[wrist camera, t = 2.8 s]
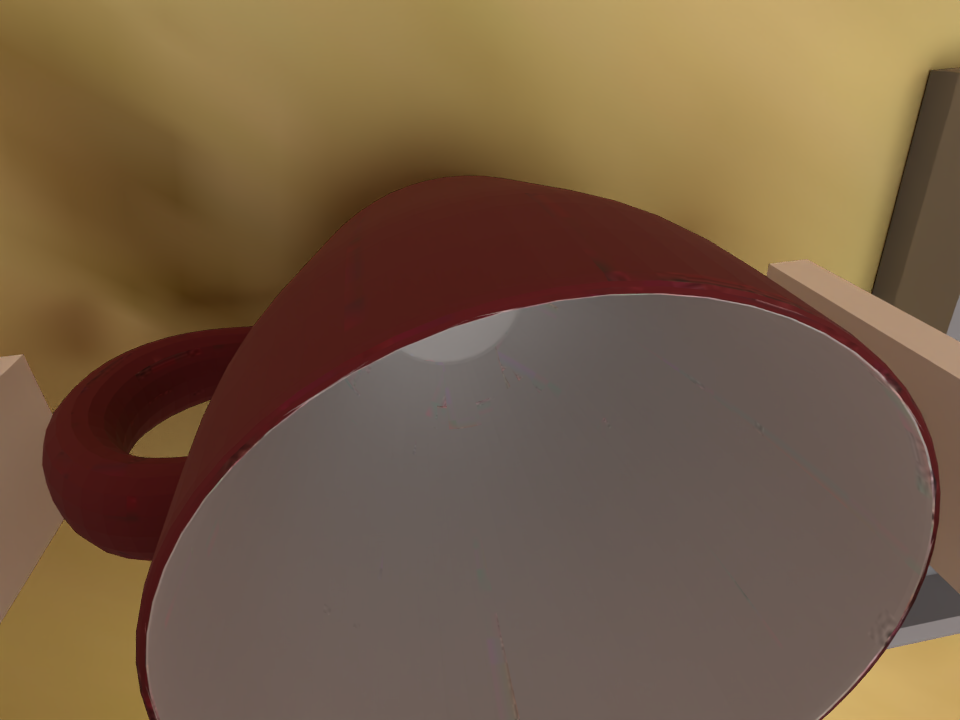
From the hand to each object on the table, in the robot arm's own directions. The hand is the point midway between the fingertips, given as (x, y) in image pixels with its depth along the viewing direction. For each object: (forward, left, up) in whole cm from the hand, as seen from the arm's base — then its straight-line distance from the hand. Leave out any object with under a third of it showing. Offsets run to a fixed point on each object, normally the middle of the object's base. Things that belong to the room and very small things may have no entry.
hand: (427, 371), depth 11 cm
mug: (0, 0, -4) cm, 4 cm away
